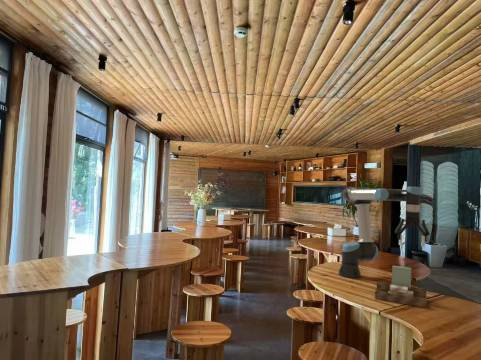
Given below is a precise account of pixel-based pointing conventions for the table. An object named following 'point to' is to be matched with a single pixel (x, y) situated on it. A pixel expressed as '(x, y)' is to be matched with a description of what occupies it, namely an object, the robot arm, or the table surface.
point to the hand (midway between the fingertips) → (411, 245)
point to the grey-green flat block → (401, 276)
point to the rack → (416, 300)
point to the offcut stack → (400, 290)
